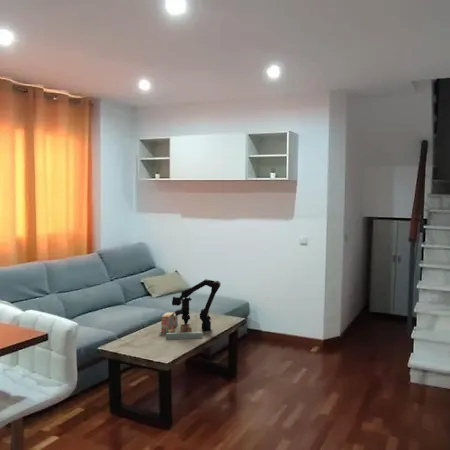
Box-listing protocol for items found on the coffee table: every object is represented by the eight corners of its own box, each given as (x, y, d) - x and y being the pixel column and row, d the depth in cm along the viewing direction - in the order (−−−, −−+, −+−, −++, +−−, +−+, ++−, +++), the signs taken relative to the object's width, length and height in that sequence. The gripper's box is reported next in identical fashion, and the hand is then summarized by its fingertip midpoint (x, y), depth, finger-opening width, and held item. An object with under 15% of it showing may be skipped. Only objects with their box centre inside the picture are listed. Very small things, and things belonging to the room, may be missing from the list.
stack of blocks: (170, 324, 394) (170, 309, 393) (177, 324, 392) (177, 309, 392) (161, 331, 373) (161, 315, 372) (169, 332, 372) (169, 316, 371)
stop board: (201, 336, 361) (201, 331, 361) (202, 337, 358) (202, 332, 358) (166, 337, 358) (166, 332, 358) (166, 338, 355) (166, 334, 355)
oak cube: (173, 334, 366) (173, 329, 366) (175, 335, 362) (175, 330, 362) (168, 335, 365) (168, 329, 364) (169, 336, 361) (169, 331, 361)
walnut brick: (189, 330, 377) (189, 324, 377) (191, 334, 368) (191, 327, 367) (180, 330, 376) (180, 324, 376) (182, 334, 366) (182, 328, 366)
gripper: (174, 303, 388) (174, 322, 389) (175, 309, 369) (175, 329, 370) (188, 303, 389) (188, 322, 390) (190, 308, 371) (190, 328, 372)
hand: (185, 325), depth 381 cm, fingers closed
